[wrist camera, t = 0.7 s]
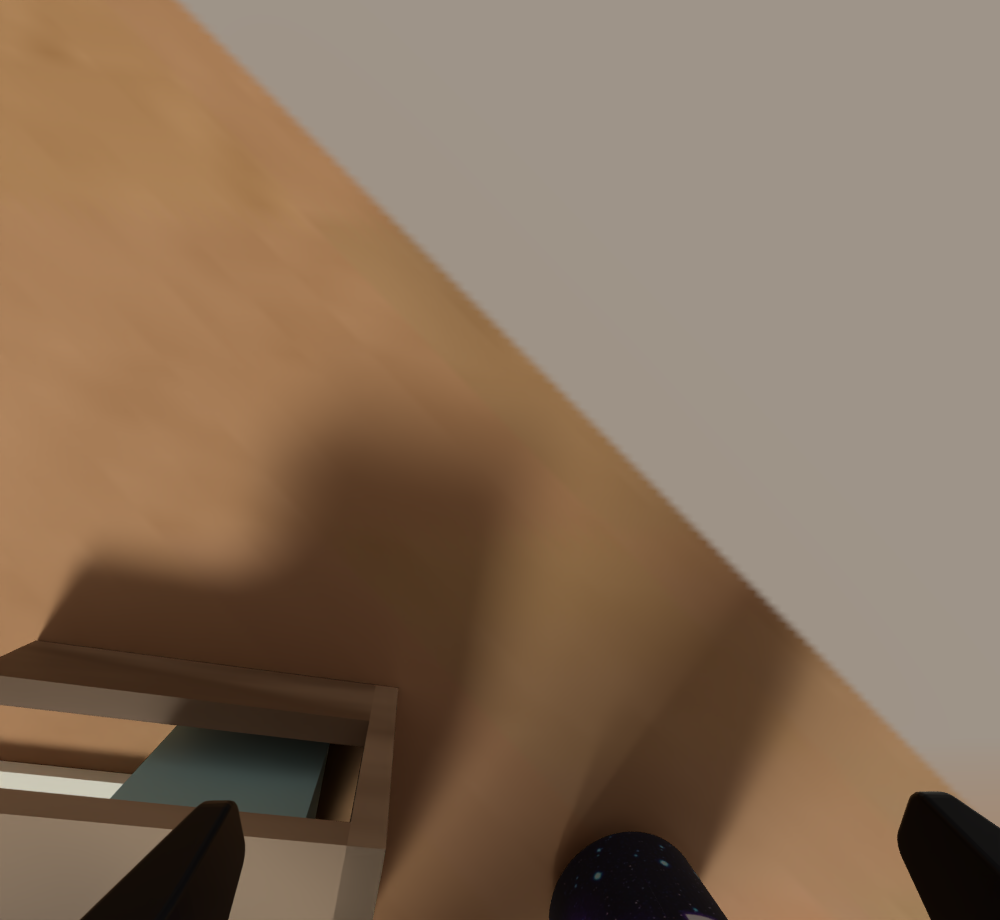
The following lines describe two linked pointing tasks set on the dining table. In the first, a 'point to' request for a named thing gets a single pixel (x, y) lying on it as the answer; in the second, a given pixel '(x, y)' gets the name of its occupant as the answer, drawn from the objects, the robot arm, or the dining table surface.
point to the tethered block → (198, 773)
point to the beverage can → (631, 883)
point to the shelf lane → (141, 825)
